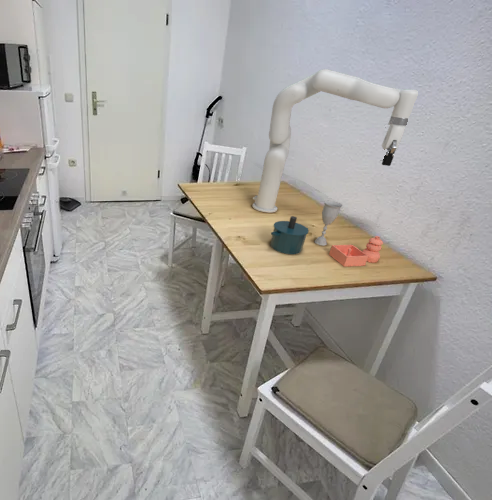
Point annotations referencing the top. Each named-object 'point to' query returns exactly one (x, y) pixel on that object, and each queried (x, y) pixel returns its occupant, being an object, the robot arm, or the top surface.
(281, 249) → the pot
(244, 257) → the top surface
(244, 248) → the top surface
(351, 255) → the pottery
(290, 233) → the lid
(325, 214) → the chalice
